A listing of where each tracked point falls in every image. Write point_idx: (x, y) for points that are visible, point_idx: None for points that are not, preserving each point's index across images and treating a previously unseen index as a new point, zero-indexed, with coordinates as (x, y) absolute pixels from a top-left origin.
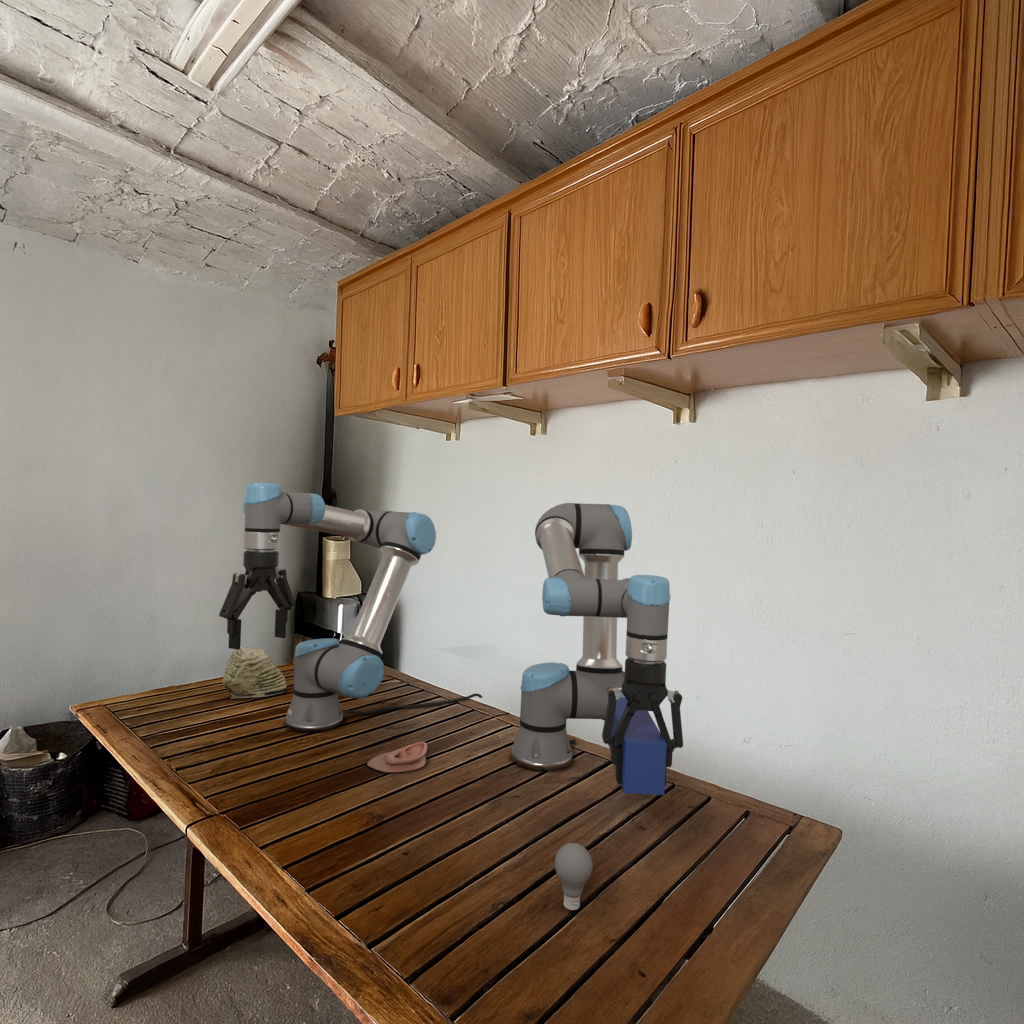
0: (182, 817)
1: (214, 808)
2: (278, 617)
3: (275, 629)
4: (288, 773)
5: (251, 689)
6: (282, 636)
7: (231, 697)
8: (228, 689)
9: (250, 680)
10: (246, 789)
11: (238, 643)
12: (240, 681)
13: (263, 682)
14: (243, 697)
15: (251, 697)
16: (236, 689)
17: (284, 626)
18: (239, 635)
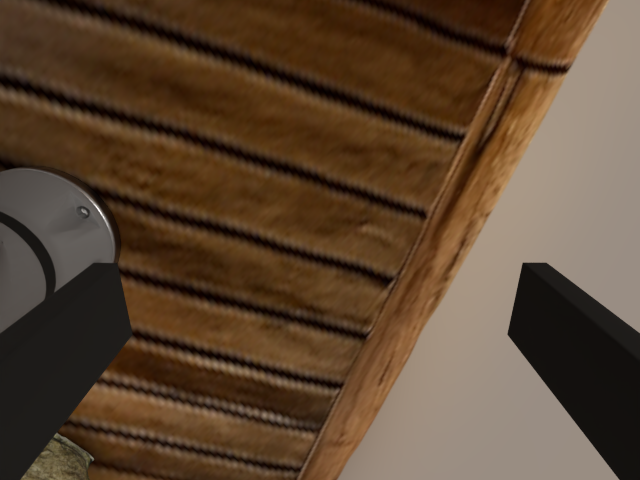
0: (543, 109)
1: (493, 83)
2: (23, 427)
3: (103, 365)
4: (296, 70)
5: (50, 449)
6: (112, 276)
7: (91, 459)
8: (88, 477)
9: (40, 469)
10: (400, 93)
11: (565, 282)
12: (62, 477)
13: None
14: (73, 444)
15: (59, 435)
16: (78, 466)
17: (51, 310)
18: (602, 314)
